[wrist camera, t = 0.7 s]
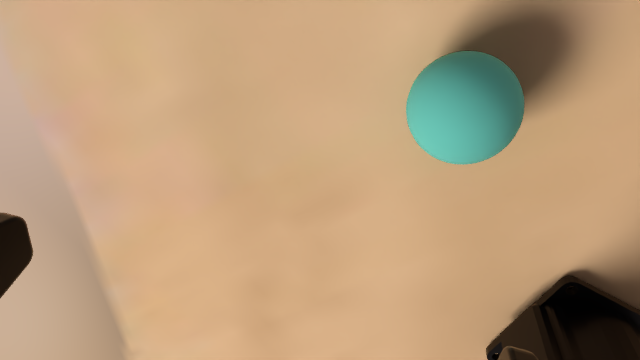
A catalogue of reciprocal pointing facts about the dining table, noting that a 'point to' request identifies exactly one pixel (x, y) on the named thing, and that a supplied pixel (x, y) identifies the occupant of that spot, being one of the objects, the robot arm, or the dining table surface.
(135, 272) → the dining table surface
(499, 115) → the bead
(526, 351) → the robot arm
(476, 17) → the dining table surface
